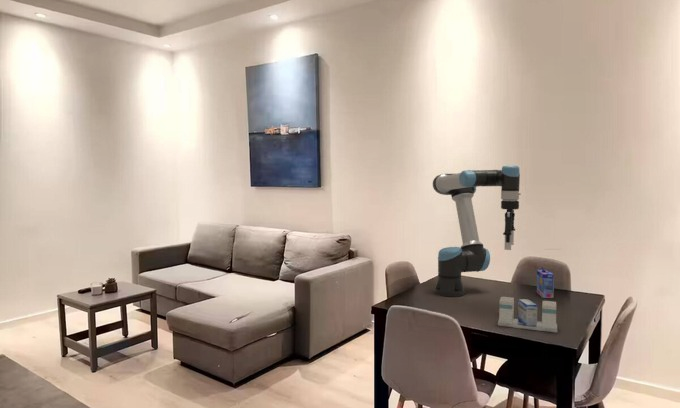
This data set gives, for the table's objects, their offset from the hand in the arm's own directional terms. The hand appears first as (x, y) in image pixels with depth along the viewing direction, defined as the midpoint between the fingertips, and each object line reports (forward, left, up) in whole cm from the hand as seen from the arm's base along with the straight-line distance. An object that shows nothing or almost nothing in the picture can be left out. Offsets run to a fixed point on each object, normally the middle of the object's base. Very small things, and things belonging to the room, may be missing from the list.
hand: (509, 247), depth 209 cm
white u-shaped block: (+9, -21, -29) cm, 36 cm away
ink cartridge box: (+15, +31, -29) cm, 45 cm away
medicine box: (+9, -21, -28) cm, 35 cm away
